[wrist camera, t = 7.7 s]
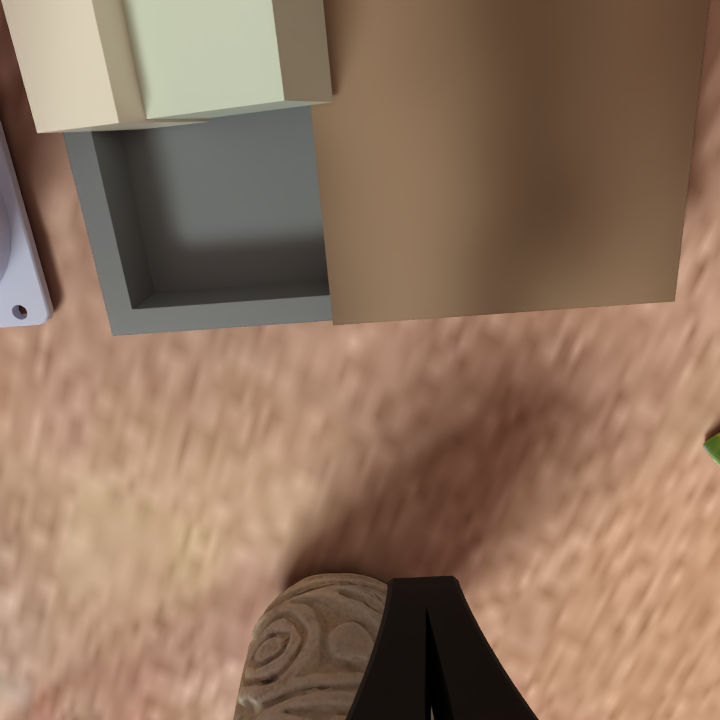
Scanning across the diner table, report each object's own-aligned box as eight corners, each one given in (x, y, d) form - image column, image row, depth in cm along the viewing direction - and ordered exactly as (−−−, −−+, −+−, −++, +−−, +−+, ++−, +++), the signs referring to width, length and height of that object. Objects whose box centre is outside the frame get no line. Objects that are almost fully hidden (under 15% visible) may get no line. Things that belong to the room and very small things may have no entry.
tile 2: (210, 121, 17) (140, 129, 18) (183, -38, 16) (109, -22, 17) (118, 123, 14) (36, 133, 14) (73, -82, 12) (-15, -58, 13)
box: (142, 312, 21) (112, 335, 18) (8, -287, 15) (-60, -365, 13) (339, 298, 20) (334, 320, 18) (278, -323, 15) (260, -409, 12)
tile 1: (207, 118, 17) (145, 119, 14) (179, -47, 15) (106, -73, 13) (333, 102, 15) (284, 100, 13) (314, -85, 14) (256, -121, 11)
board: (339, 298, 20) (332, 325, 17) (278, -323, 15) (255, -431, 12) (632, 277, 20) (674, 301, 17) (690, -376, 14) (768, -503, 11)
